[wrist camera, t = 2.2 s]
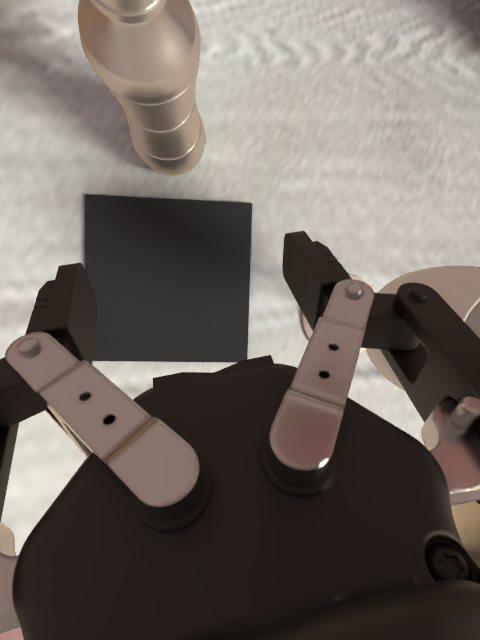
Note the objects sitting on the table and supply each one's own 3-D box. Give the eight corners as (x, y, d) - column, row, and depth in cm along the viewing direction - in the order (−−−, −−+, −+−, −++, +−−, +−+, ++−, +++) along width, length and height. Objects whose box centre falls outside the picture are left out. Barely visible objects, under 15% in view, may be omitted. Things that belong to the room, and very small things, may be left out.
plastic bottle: (183, 195, 34) (148, 61, 14) (122, 154, 33) (-4, -46, 13) (218, 138, 34) (232, -76, 14) (158, 96, 33) (82, -193, 13)
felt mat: (85, 195, 33) (84, 194, 33) (251, 203, 35) (252, 203, 34) (86, 360, 35) (85, 360, 34) (246, 361, 36) (247, 362, 36)
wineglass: (337, 257, 36) (515, 210, 15) (398, 308, 37) (643, 332, 16) (285, 323, 36) (391, 367, 15) (347, 372, 37) (526, 477, 16)
